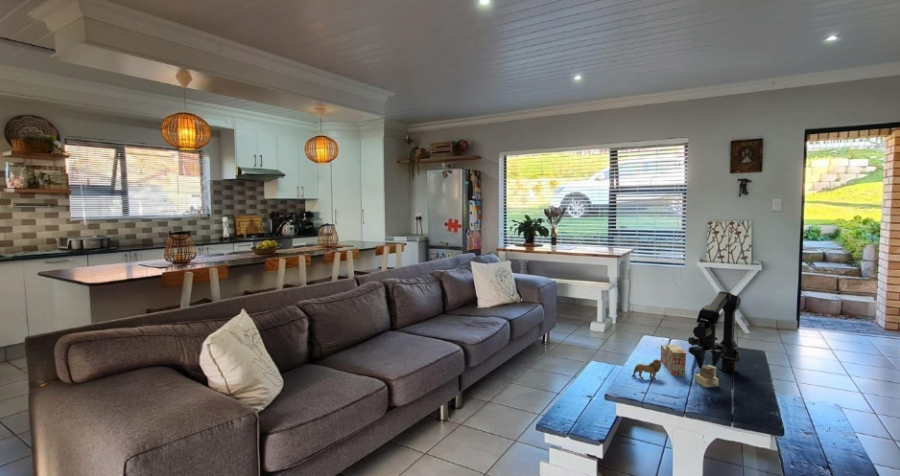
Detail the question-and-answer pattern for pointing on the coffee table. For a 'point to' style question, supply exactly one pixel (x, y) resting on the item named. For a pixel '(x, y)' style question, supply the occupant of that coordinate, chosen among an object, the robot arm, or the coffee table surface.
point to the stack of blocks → (673, 359)
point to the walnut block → (707, 371)
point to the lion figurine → (648, 368)
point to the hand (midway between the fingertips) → (707, 366)
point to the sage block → (714, 370)
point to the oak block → (706, 381)
